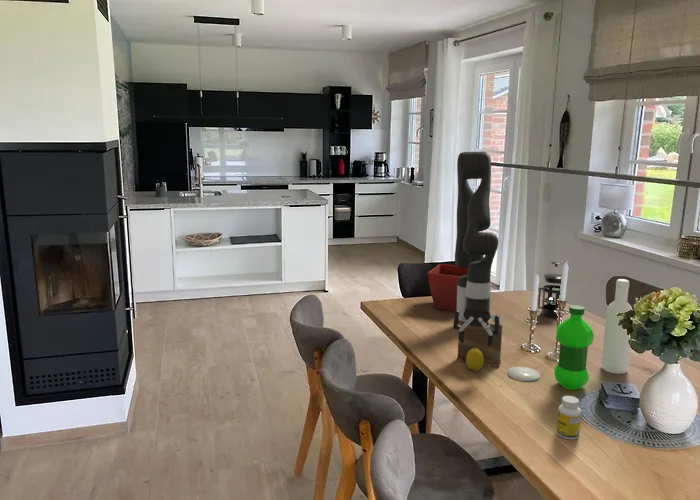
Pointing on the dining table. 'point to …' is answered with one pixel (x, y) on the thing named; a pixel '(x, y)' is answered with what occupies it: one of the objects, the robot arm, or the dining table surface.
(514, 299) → the dining table surface
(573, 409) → the supplement bottle
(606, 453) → the dining table surface
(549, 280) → the french press
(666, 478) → the dining table surface
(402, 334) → the dining table surface
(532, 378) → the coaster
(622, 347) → the bottle
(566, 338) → the plastic bottle
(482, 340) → the walnut screen
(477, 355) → the lemon
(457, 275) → the plant pot
